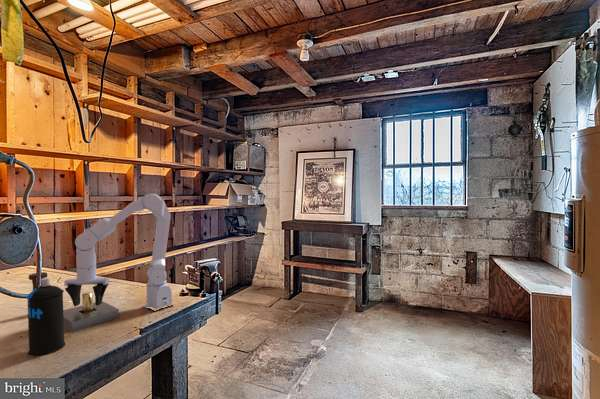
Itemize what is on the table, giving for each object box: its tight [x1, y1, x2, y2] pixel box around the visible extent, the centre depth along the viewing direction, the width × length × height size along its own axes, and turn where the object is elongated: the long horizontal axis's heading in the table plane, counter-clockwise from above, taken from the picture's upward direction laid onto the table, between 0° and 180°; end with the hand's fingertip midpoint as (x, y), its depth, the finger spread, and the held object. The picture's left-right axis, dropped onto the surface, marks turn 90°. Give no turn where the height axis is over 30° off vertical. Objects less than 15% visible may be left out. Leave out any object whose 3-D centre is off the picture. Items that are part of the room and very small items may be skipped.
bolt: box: [28, 271, 48, 291], centre depth 115 cm, size 6×5×15 cm
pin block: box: [63, 300, 120, 333], centre depth 109 cm, size 16×14×3 cm
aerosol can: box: [26, 277, 66, 357], centre depth 87 cm, size 8×8×20 cm
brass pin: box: [81, 291, 94, 314], centre depth 109 cm, size 3×3×9 cm
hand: (87, 304), depth 109 cm, fingers open, 7 cm apart
